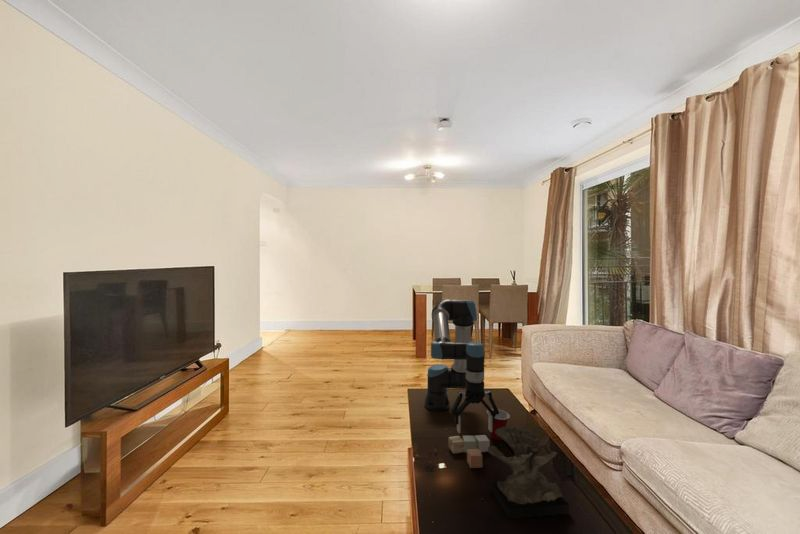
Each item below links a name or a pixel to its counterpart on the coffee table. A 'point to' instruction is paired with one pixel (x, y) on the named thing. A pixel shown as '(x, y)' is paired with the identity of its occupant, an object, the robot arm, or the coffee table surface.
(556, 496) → the coral
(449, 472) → the coffee table surface
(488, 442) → the offwhite cube
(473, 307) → the robot arm
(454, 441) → the maple cube
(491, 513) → the coffee table surface
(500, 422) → the plastic cup
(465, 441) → the sage cube
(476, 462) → the terracotta cube
